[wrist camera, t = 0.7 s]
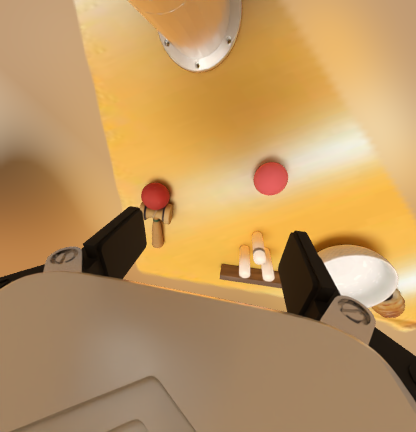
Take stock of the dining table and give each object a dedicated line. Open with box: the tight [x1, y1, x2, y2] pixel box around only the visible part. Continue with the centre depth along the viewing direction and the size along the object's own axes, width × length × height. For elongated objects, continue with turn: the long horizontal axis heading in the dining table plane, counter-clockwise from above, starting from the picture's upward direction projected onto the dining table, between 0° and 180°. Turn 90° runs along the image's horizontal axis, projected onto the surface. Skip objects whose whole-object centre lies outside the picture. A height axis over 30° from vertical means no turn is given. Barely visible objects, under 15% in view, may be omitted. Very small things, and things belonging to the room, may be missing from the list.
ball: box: [254, 162, 288, 195], centre depth 33 cm, size 6×6×6 cm
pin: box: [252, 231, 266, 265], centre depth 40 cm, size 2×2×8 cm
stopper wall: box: [220, 264, 282, 288], centre depth 47 cm, size 2×16×4 cm, turn 89°
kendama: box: [140, 182, 173, 248], centre depth 43 cm, size 8×6×18 cm
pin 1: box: [239, 245, 250, 278], centre depth 42 cm, size 2×2×8 cm
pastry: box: [372, 290, 405, 318], centre depth 45 cm, size 9×7×4 cm
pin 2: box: [261, 248, 275, 282], centre depth 41 cm, size 2×2×8 cm
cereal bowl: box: [317, 245, 398, 308], centre depth 40 cm, size 17×17×7 cm
